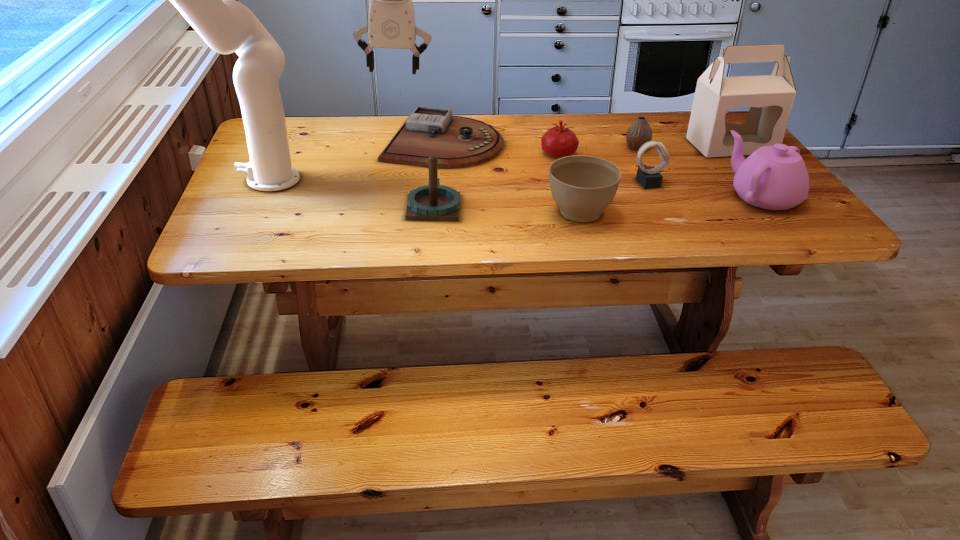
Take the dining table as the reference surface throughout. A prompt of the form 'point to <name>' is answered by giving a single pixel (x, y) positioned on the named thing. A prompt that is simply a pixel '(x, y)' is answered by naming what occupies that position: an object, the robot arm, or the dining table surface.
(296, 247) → the dining table surface
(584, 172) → the planter bowl
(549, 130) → the pomegranate
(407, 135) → the control panel
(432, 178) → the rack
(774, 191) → the teapot
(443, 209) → the ring
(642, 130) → the vase
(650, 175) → the ring sculpture
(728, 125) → the gable box
